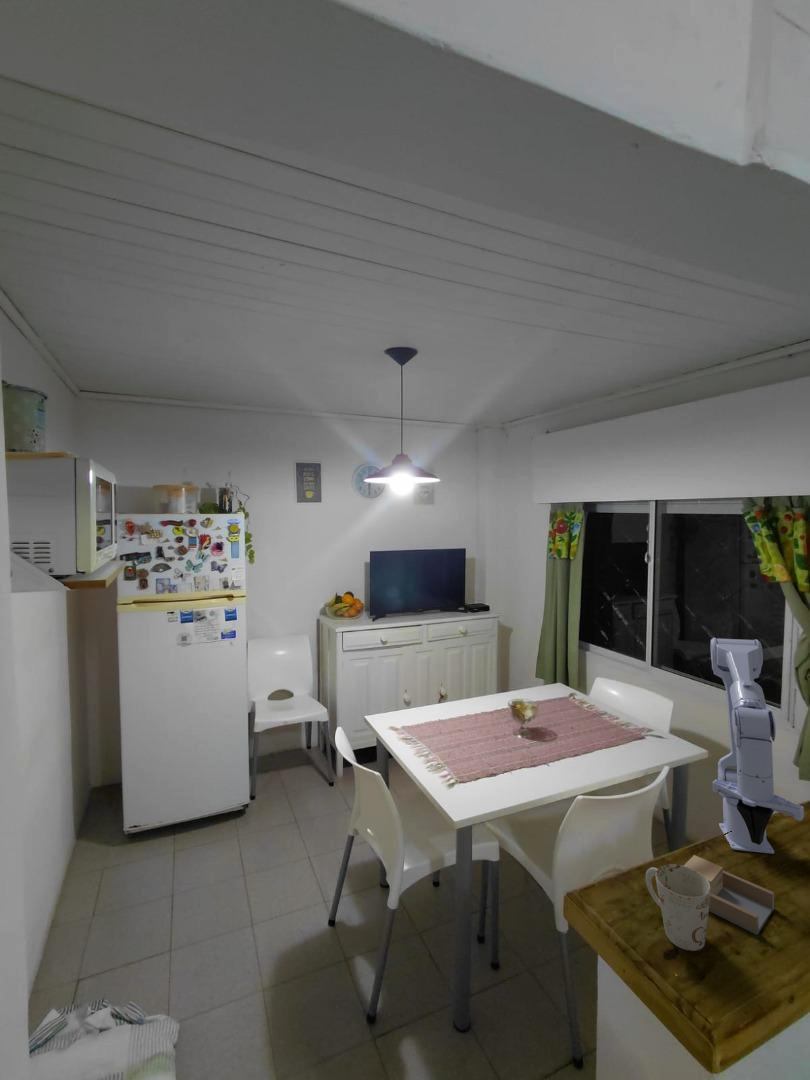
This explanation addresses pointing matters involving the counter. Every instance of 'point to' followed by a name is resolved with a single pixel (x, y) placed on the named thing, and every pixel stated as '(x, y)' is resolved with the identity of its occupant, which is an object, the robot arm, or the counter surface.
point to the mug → (682, 904)
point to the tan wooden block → (708, 872)
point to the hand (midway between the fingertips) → (757, 841)
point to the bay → (742, 903)
